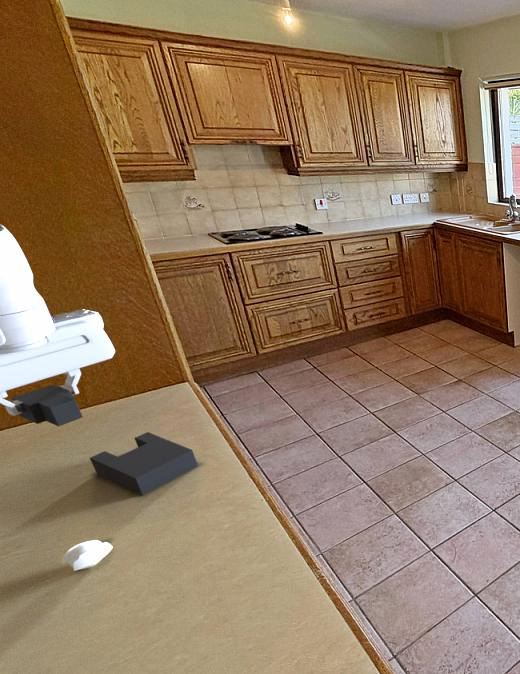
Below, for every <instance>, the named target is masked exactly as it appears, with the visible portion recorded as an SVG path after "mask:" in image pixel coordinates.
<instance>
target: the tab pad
mask: <svg viewBox="0 0 520 674" xmlns="http://www.w3.org/2000/svg"><path fill="white" fill-rule="evenodd" d="M59 386H60V385H56V384H51V385H50V384H49V385H47V386H44V387H41V388H38V389H35V390H32V391H29V392H25V393H22V394H19V395H15V396H12V397H11V401H15V400H18V401H19V402H23V405H24V408H25V409H26V412H23V413H20V414H18V415H19V417H21V418H23V419H26V420H28V421H30V422H32V423H34V424H36V425H39V424H43V423H44V422H47V423H50V424H52V425H54V426H56V427H61V426H65V425H67V424H69V423H72V422H75V421H77V420H81V419H82V418H83V417H84V416H83V414H82V412H81V410H80V408H79V405H78V403H77V402H78V401H77V400H76V399H75V398H74V395H72V393H71V391H69V390H66V389H63V388H61V387H59Z"/></svg>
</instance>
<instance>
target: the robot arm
mask: <svg viewBox="0 0 520 674" xmlns="http://www.w3.org/2000/svg"><path fill="white" fill-rule="evenodd" d="M104 327H105V324H104V321H103V317H102V316H101V314H100V313H99V312H97V311H94V310H91V309H89V310H88V309H85V308H82V309H76V310H74V311H71V312H65V313H58V314H54V315H51V313H50V310H49V309H48V306H47V304H46V302H45V300H44V298H43V297H42V296H41V295H40V293H39V292H38V291H37V289H36V288H35V285H34V274H33V271H32V268H31V266H30V264H29V262H28V259H27V258H26V256H25V254H24V252H23V249H22V248H21V247H20V244H19V243H18V241H17V240H16V238H15V237H14V235H13V234H12V233H11V232H10V231H9V230H8V229H7V228H6V227H5V226H4V225H3V224H1V223H0V404H1V405H3V406H4V408H5V410H6V412H7V413H8V414H9V415H11V416H13V417H14V416H17V415H19V414H20V413H23V412H26V409H25V408H24V405H23V402H19V401H18V400H15V401H12V400H11V401H9V400H7V399H5V398H7V397H8V393H7V391H10V390H13V389H16V388H19V387H23V386H26V385H30V384H33V383H37V382H39V381H42V380H45V379H49V378H53V377H55V376H59V375H61V374H63V375H65V376H66V378H65V382H64V384H62V385H58V386H59V387H61V388H63V389H66V390H69V391H71V393H72V395H73V396H76V395H79V394H80V391H79V389H78V387H77V385H78V384H79V381H80V378H81V376H82V372H81V369H82V368H85V367H88V366H91V365H95V364H99V363H102V362H104V361H108V360H111V359H112V358H113V357H114V355H115V353H116V349H115V347H114V345H113V342H112V341H111V339H110V338H109V336H108V334H107V333H106V332H105V330H104Z"/></svg>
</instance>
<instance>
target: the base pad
mask: <svg viewBox="0 0 520 674" xmlns="http://www.w3.org/2000/svg"><path fill="white" fill-rule="evenodd" d="M134 441H135V443H136V446H137V447H135V448H134V449H131V450H129V451H127V452H124V453H123V454H121V455H119V456H117V455H115V454H112V453H111V452H108V451H106V450H104V451H101V452H99V453H98V454H94V455H93V456H90V457H89V460H90V462H91V464H92V467H93V468H94V470H95V473H96V475H98V476H100V477H102V478H104V479H106V480H108V481H111V482H113V483H115V484H117V485H119V486H121V487H123V488H125V489H127V490H130V491H132V492H134V493H137V495H140V496H144V495H146V494H148V493H150V492H152V491H154V490H155V489H158V488H159V487H162V486H163V485H165V484H167V483H168V482H171V481H172V480H174V479H176V478H177V477H180V476H181V475H184V474H185V473H187V472H189V471H191V470H193V469H194V468H196V467H198V466H199V464H198V462H197V459H196V457H195V453H194V450H193V449H192V448H188V447H187V446H184V445H181V444H179V443H177V442H174V441H171V440H169V439H166V438H164V437H162V436H159V435H156V434H155V433H151V432H149V431H146V432H145V433H142V434H140V435H138V436H135V437H134Z"/></svg>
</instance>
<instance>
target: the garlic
mask: <svg viewBox="0 0 520 674" xmlns="http://www.w3.org/2000/svg"><path fill="white" fill-rule="evenodd" d="M112 549H113V545H112V544H110V543H109V542H107V541H105V542H102V541H100V540H98V539H92V540H87V541H84V542H81V543H78V544H76V545H74V546H73V547H71V548H70V549H68V550H67V552H65V554H64V555H63V557H62V560H61V563H60V565H64V564H66V563H68V565H69V566H70V567H71V568H73V572H76V571H79V570H87V569H90V568H92V567H95V566H96V565H97V564H99V563H100V562H101V560H102V559H103V558H105V557H106V556H107V555H108V554H109V553H110V552H111V551H112Z"/></svg>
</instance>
